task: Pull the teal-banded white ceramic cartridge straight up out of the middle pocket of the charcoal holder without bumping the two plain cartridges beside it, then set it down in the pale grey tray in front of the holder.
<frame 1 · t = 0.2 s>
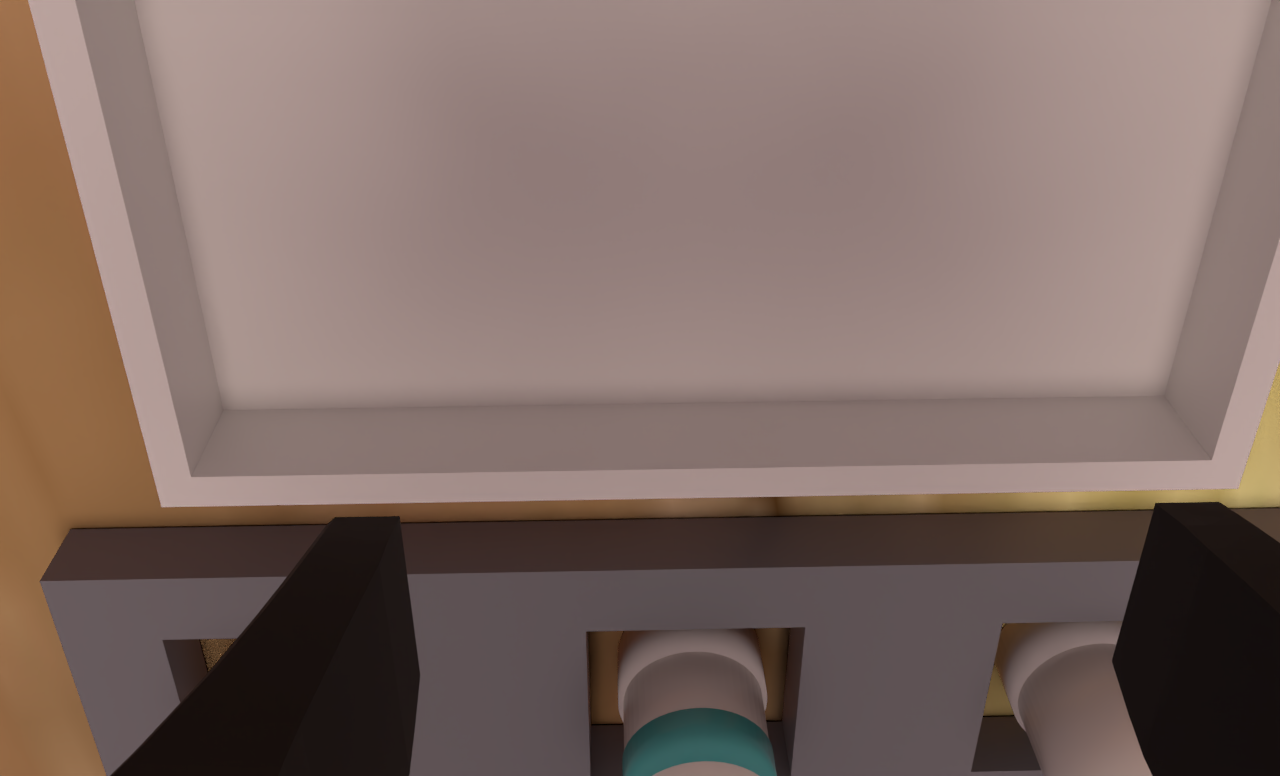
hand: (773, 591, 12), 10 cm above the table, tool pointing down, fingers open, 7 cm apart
cartridge 1: (1064, 645, 26), resting in holder
holder: (688, 653, 26), on the table
tray: (702, 158, 20), on the table
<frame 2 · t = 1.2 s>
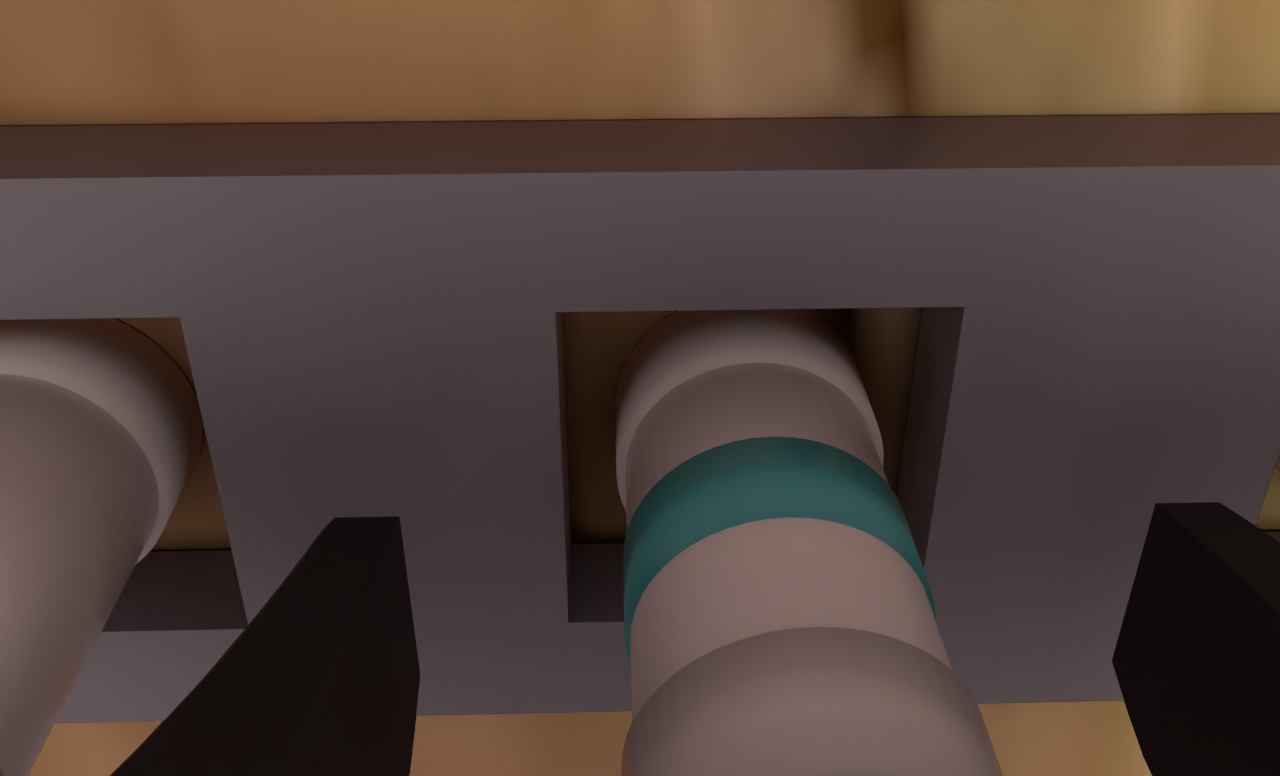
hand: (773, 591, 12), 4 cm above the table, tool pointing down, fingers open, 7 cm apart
cartridge 2: (75, 414, 15), resting in holder
holder: (738, 405, 15), on the table
marked cartridge: (772, 594, 12), in the holder
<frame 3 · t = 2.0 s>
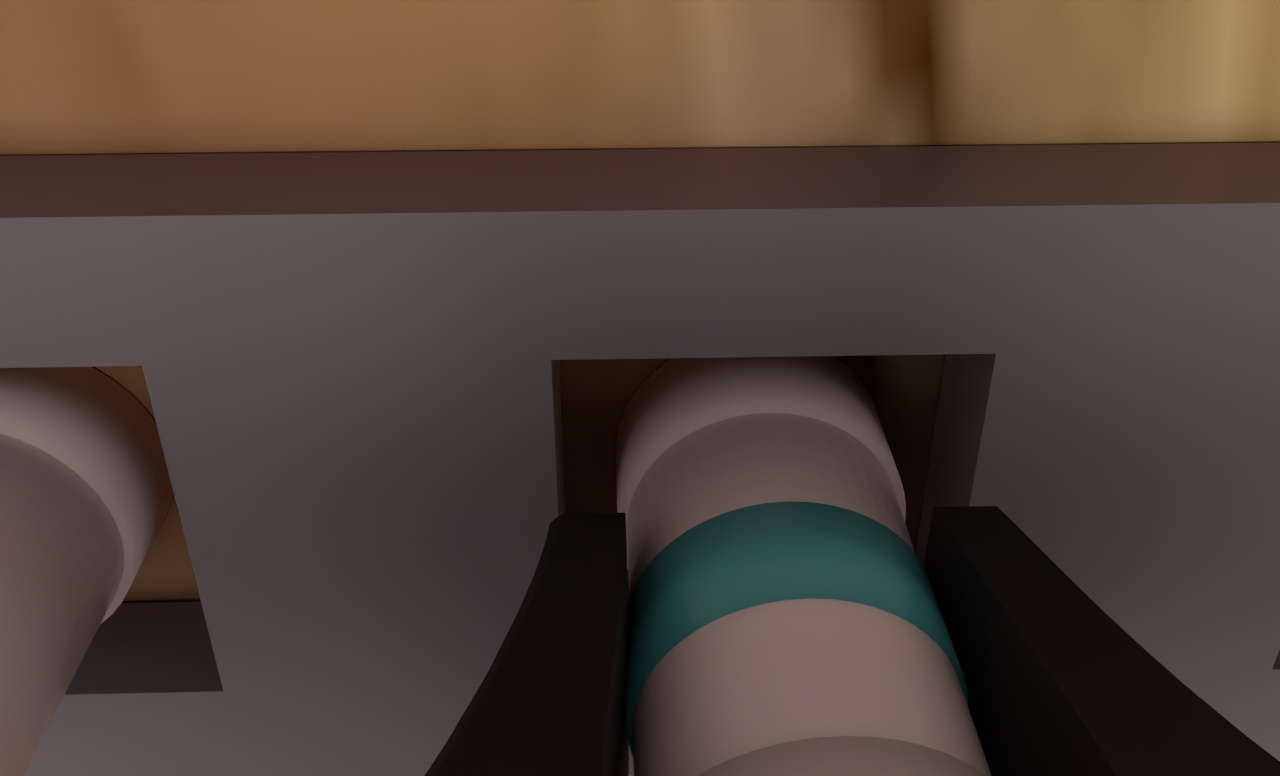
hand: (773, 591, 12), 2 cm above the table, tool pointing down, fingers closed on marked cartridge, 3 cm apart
cartridge 2: (37, 460, 14), resting in holder
holder: (747, 450, 14), on the table
marked cartridge: (787, 672, 11), in the holder, touching gripper
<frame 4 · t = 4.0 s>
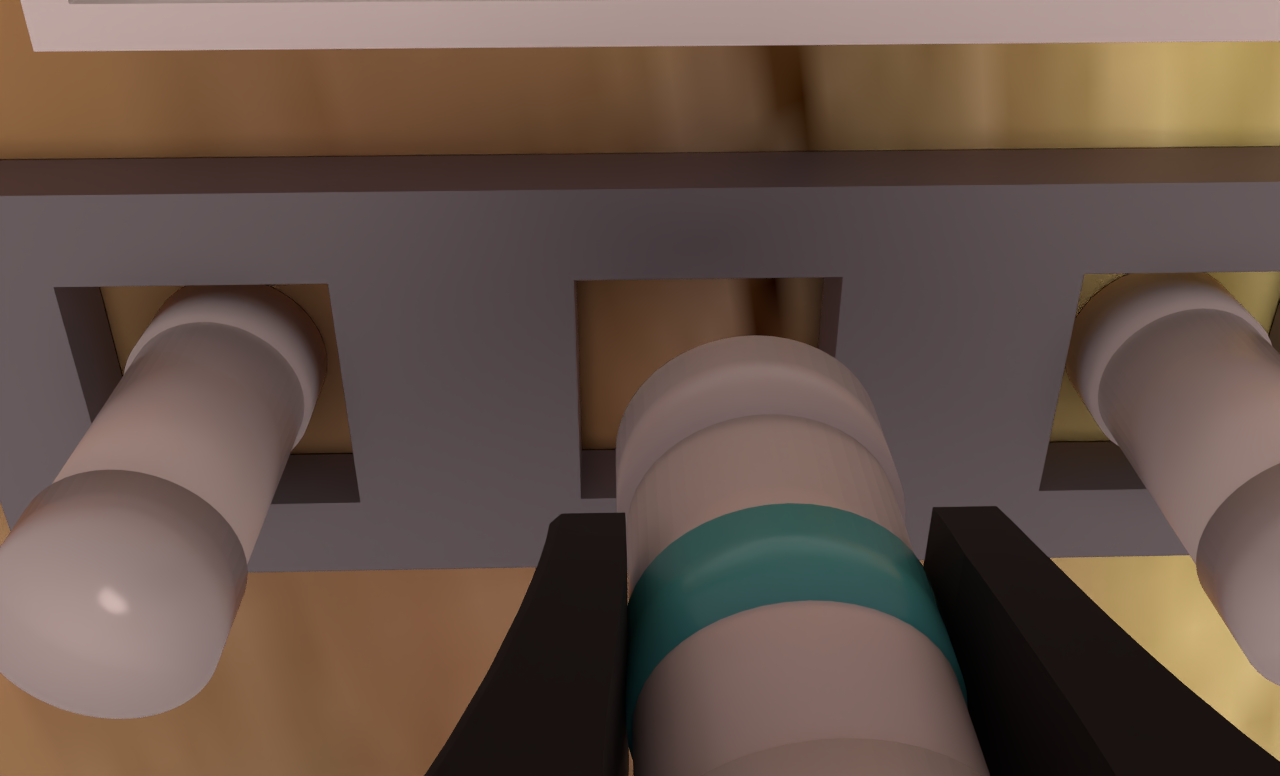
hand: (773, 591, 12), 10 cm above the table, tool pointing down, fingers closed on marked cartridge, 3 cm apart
cartridge 1: (1150, 342, 21), resting in holder
cartridge 2: (239, 354, 21), resting in holder
holder: (698, 349, 21), on the table
marked cartridge: (787, 673, 11), point 11 cm above the table, touching gripper
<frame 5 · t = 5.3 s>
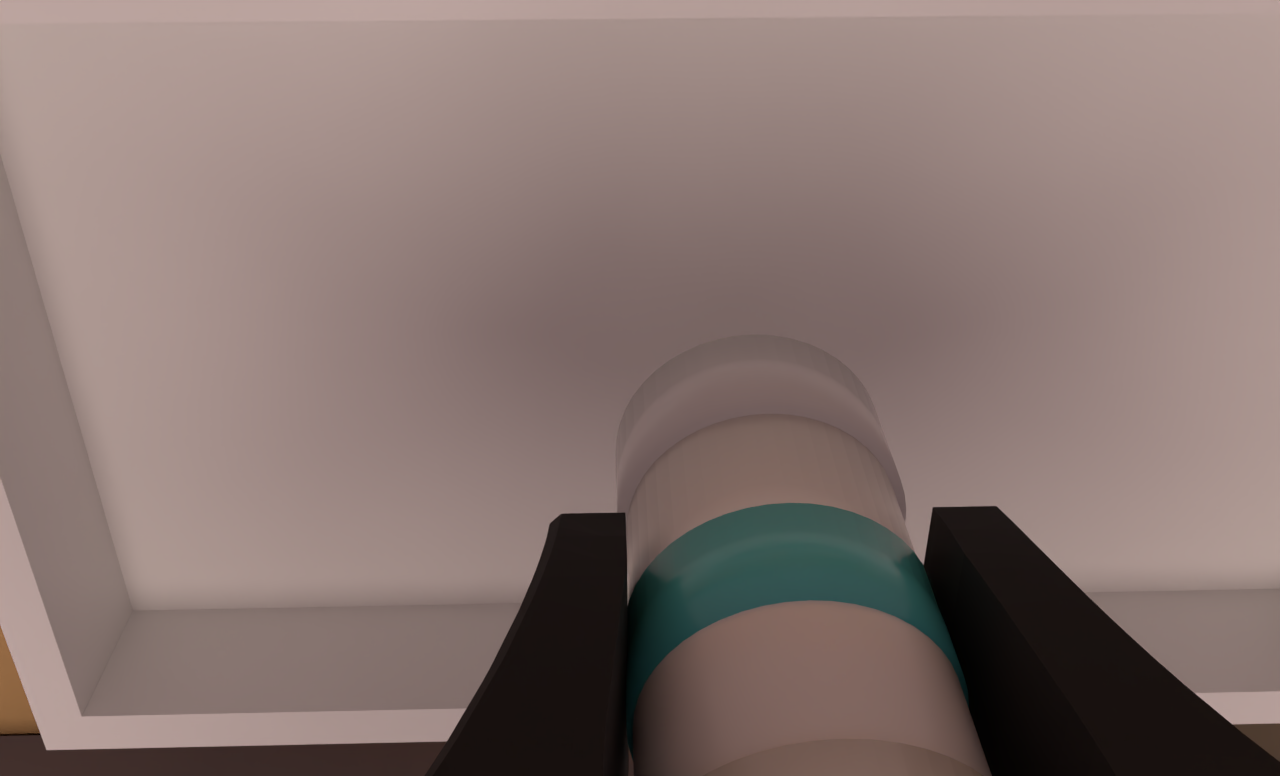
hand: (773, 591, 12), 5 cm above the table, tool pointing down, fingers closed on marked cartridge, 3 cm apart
tray: (730, 312, 16), on the table
marked cartridge: (788, 674, 11), point 6 cm above the table, touching gripper
when the fingers open (4 cm above the table, at t = 6.1 s): marked cartridge drops 1 cm, resting on tray.
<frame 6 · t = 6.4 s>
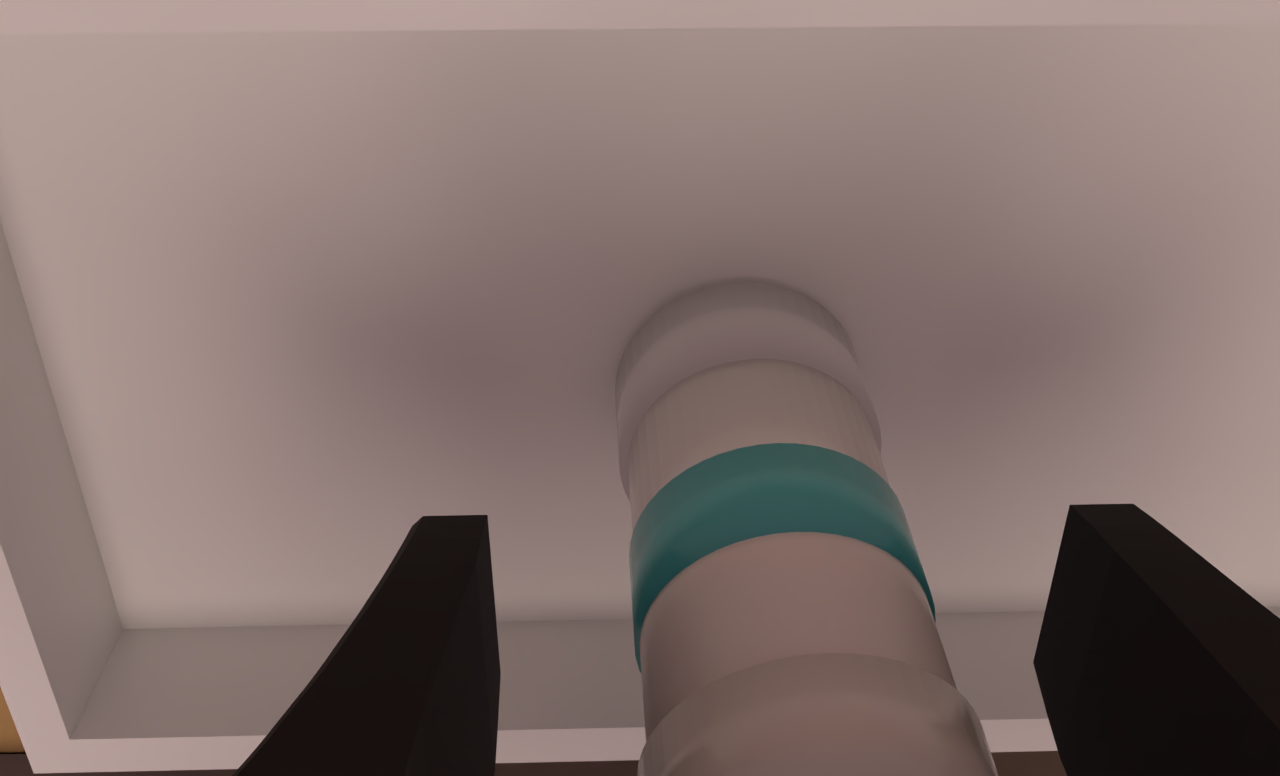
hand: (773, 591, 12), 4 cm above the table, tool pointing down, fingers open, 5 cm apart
tray: (733, 326, 15), on the table
marked cartridge: (776, 593, 12), in the tray
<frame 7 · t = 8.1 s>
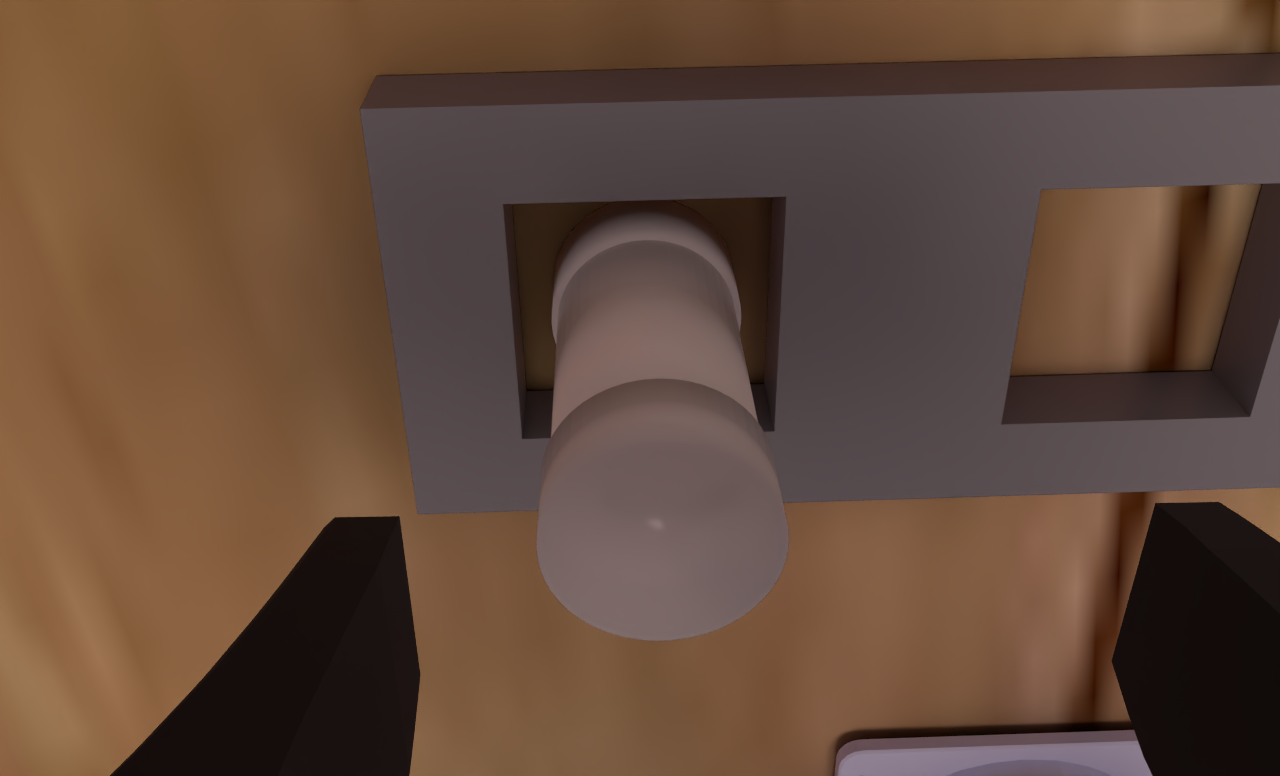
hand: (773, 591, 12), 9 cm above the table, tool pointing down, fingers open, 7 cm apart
cartridge 2: (643, 280, 20), resting in holder
holder: (1117, 268, 20), on the table
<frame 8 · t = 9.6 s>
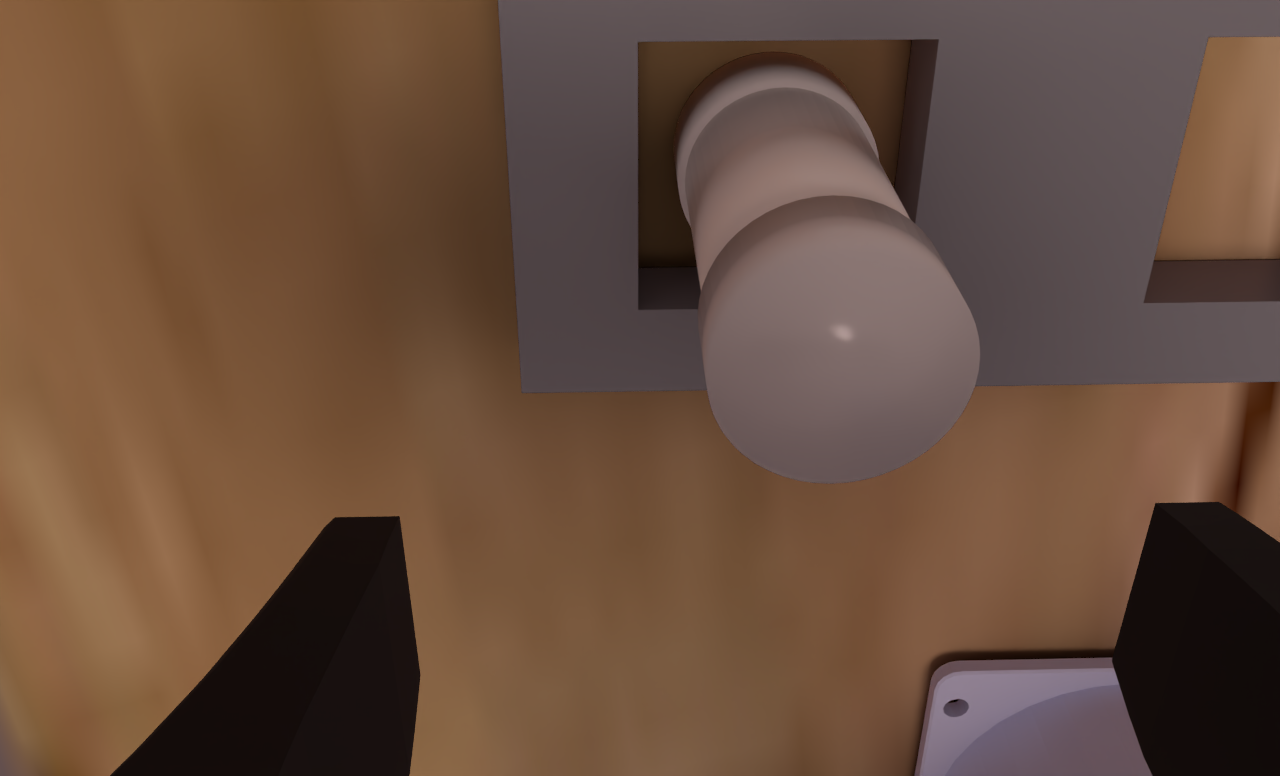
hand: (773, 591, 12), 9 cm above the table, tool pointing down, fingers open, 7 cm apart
cartridge 2: (767, 146, 19), resting in holder
holder: (1265, 141, 19), on the table
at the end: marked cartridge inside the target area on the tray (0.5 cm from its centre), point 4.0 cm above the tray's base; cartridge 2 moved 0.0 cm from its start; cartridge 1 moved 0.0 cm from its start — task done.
